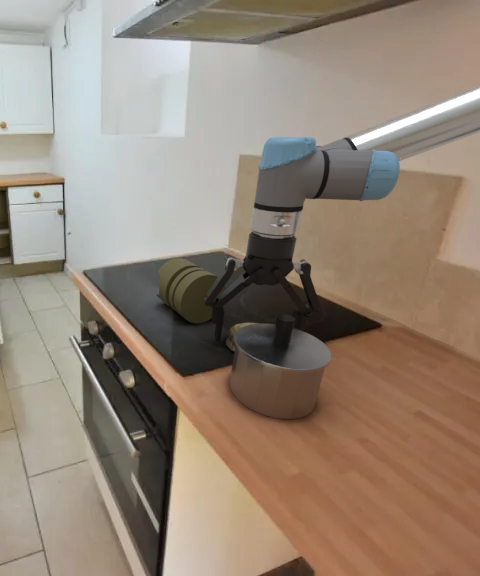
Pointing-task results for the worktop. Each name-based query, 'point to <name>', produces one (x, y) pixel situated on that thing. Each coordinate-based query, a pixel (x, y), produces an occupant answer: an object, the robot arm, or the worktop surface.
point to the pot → (273, 388)
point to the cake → (232, 332)
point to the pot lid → (282, 346)
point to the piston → (186, 289)
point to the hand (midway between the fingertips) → (253, 340)
